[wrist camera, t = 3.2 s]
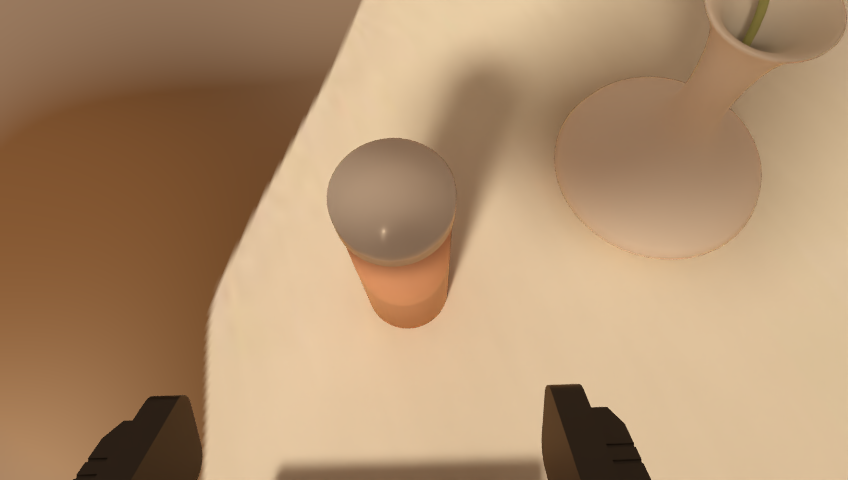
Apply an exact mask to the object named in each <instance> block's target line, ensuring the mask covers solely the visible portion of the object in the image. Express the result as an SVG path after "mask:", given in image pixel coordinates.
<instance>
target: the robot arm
mask: <svg viewBox="0 0 848 480" xmlns="http://www.w3.org/2000/svg"><path fill="white" fill-rule="evenodd" d="M542 454H543V461H544V467H545V471H546V474H547V478H548V480H651V478H650V476H649V474H648V472H647V470H646V468H645V466H644V464H643V463H642V462H641V457H640V455H639V453H638V451H637V449H636V447H634V442H633V440H632V438H631V436H630V434H629V432H628V430H627V428H626V426H625V424H624V423H623V422H622V421H621V420H620V419H619V418H618V417H617V416H616V415H615V414H614V413H613V412H612V411H611V410H610V409H609V408H608V407H593V408H591V406H590V404H589V401H588V399H587V396H586V394H585V392H584V389H583V387H582V386H581V385H580V384H565V385H547V386H546V389H545V398H544V412H543V426H542ZM201 465H202V446H201V442H200V439H199V434H198V431H197V426H196V422H195V418H194V415H193V411H192V407H191V403H190V400H189V398H188V397H187V396H185V395H179V396H152V397H149V398H148V399H147V400H146V401H145V403H144V404H143V406H142V407H141V409H140V410H139V412H138V413H137V415H136V416H135V418H134V419H133V421H123V422H122V423H121V424H119V425H118V426H117V427H116V428H114V429H113V430H112V431H111V432H109V434H107V435H106V436H105V437H103V438H102V439H101V441H100V442H99V444H98V445H97V447H96V448H95V449H94V451H93V452H92V454H91V455H90V456H89V458H88V462H85V464H84V465H83V466H82V468H81V469H80V471H79V472H78V474H77V478H76V479H73V480H197V479H198V476H199V473H200V470H201Z"/></svg>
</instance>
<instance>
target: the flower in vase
mask: <svg viewBox="0 0 848 480" xmlns="http://www.w3.org/2000/svg"><path fill="white" fill-rule="evenodd" d="M704 2H705V10H706V14H707V16H708V19H709V21H710V32H709V37H708V40H707V43H706V46H705V49H704V51H703V54H702V56H701V58H700V60H699V62H698V64H697V66H696V68H695V69H694V71H693V73H692V75H691V76H690V78H689V80H688V81H687V82H686V83H684V82H681V81H677V80H673V79H668V78H660V77H637V78H629V79H625V80H621V81H617V82H614V83H612V84H609V85H607V86H605V87H603V88H601V89H599V90H597V91H596V92H594V93H593V94H591V95H590V96H588V97H587V98H586V99H584V100H583V101H582V102H580V103H579V104H578V105H577V106H576V107H575V108H574V109H573V110H572V112H571V113H570V114H569V115H568V116H567V118H566V120H565V121H564V123H563V125H562V127H561V129H560V132H559V134H558V137H557V141H556V146H555V156H554V161H555V171H556V176H557V180H558V183H559V186H560V189H561V191H562V194H563V196H564V198H565V199H566V201H567V203H568V205H569V206H570V208H571V209H572V210H573V212H574V213H575V215H576V216H577V217H578V218H579V219H580V220H581V221H582V222H583V223H584V224H585V226H587V227H588V228H589V229H590V230H591V231H593V232H594V233H595V234H596V235H598V236H599V237H601V238H602V239H604V240H605V241H607V242H608V243H610V244H612V245H614V246H616V247H618V248H620V249H622V250H625V251H628V252H630V253H633V254H636V255H640V256H644V257H648V258H656V259H685V258H692V257H696V256H700V255H704V254H706V253H709V252H711V251H714V250H716V249H718V248H719V247H721V246H723V245H725V244H726V243H728V242H729V241H730V240H731V239H733V238H734V237H735V236H736V235H737V234H738V233H739V232H740V231H741V230H742V229H743V228H744V227H745V225H746V223H747V222H748V220H749V219H750V217H751V215H752V213H753V211H754V208H755V206H756V203H757V199H758V196H759V192H760V187H761V177H762V173H761V162H760V158H759V153H758V150H757V148H756V145H755V142H754V140H753V138H752V136H751V135H750V133H749V131H748V129H747V128H746V127H745V125H744V124H743V122H742V121H741V120H740V119H739V118H738V116H737V115H736V114H735V113H734V112H733V111H732V110H731V109H730V107H731V105H732V104H733V103H734V102H735V101H736V100H737V99H738V98H739V97H740V96H741V95H742V94H743V92H744V91H746V90H747V89H748V88H749V87H750V86H751V85H752V84H754V83H755V82H756V81H757V80H758V79H759V78H761V77H762V76H764V75H765V74H766V73H768V72H769V71H771V70H772V69H774V68H776V67H778V66H781V65H783V64H788V63H798V62H804V61H808V60H811V59H814V58H817V57H819V56H821V55H823V54H824V53H826V52H828V51H829V50H831V49H832V48H833V47H834V46H835V45H836V44H837V43H838V42H839V40H840V39H841V37H842V36H843V33H844V31H845V27H846V20H847V15H846V9H845V6H844V3H843V0H704Z"/></svg>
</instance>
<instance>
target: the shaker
mask: <svg viewBox="0 0 848 480" xmlns="http://www.w3.org/2000/svg"><path fill="white" fill-rule="evenodd" d="M327 207H328V212H329V215H330V218H331V221H332V223H333V225H334V227H335V229H336V232H337V234H338V236H339V238H340V239H341V241H342V242H343V244H344V245H345V246H346V248H347V250H348V252H349V255H350V257H351V259H352V261H353V264H354V266H355V268H356V271H357V273H358V275H359V278H360V280H361V282H362V284H363V287H364V289H365V291H366V294H367V296H368V298H369V300H370V303H371V305H372V307H373V309H374V311H375V312H376V314H377V315H378V316H379V317H380V318H381V319H382V320H384V321H385V322H387V323H388V324H390V325H393V326H395V327H399V328H416V327H420V326H422V325H425V324H427V323H429V322H430V321H432V320H433V319H434V318H435V317H436V316H437V315H438V314H439V313H440V312H441V310H442V308H443V307H444V304H445V302H446V299H447V292H448V277H449V261H450V245H451V230H452V226H453V223H454V218H455V210H456V185H455V181H454V177H453V175H452V173H451V171H450V169H449V167H448V166H447V164H446V163H445V162H444V160H443V159H442V158H441V157H440V156H439V155H438V154H437V153H436V152H434V151H433V150H432V149H430V148H428V147H427V146H425V145H423V144H420V143H418V142H415V141H412V140H408V139H401V138H387V139H380V140H375V141H372V142H369V143H366V144H364V145H362V146H360V147H358V148H357V149H355V150H353V151H352V152H351V153H349V154H348V155H347V156H346V157H345V158H344V159H343V160H342V161H341V162H340V164H339V165H338V166H337V167H336V169H335V171H334V173H333V174H332V177H331V179H330V182H329V186H328V190H327Z"/></svg>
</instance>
